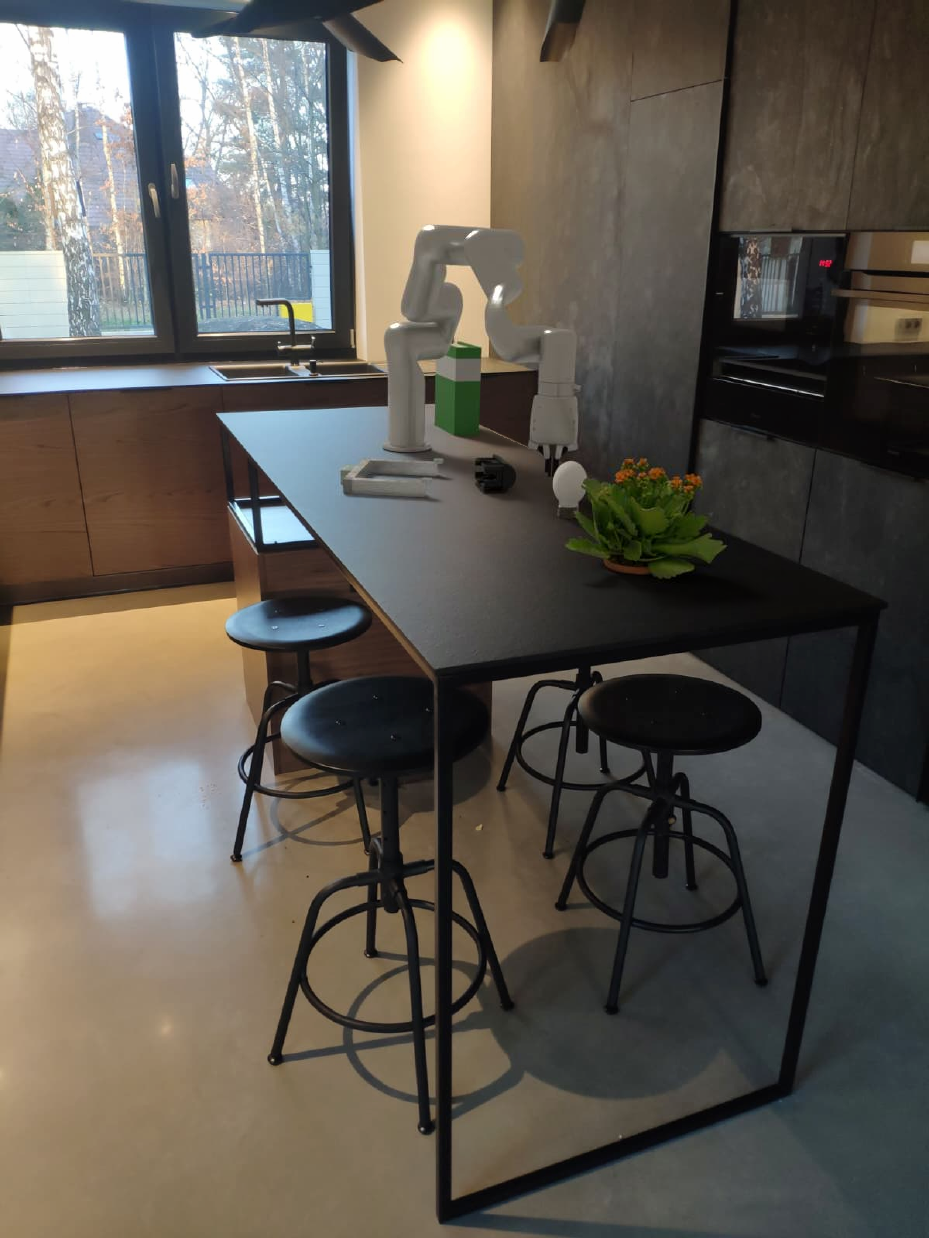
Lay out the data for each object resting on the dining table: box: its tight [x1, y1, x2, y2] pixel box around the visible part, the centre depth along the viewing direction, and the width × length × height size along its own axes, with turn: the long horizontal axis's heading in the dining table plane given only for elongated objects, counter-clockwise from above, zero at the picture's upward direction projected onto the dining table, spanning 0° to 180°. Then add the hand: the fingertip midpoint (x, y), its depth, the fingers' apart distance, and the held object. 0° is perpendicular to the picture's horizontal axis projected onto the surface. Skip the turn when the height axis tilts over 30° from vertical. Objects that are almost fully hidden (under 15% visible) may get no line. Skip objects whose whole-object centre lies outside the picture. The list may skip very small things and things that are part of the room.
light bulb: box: [552, 460, 588, 519], centre depth 186 cm, size 7×7×11 cm
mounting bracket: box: [340, 457, 444, 498], centre depth 209 cm, size 22×21×4 cm
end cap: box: [474, 454, 518, 495], centre depth 206 cm, size 10×7×7 cm
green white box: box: [434, 340, 483, 437], centre depth 270 cm, size 18×7×24 cm, turn 20°
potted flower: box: [564, 458, 728, 580], centre depth 156 cm, size 25×24×18 cm
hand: (551, 476), depth 205 cm, fingers closed
